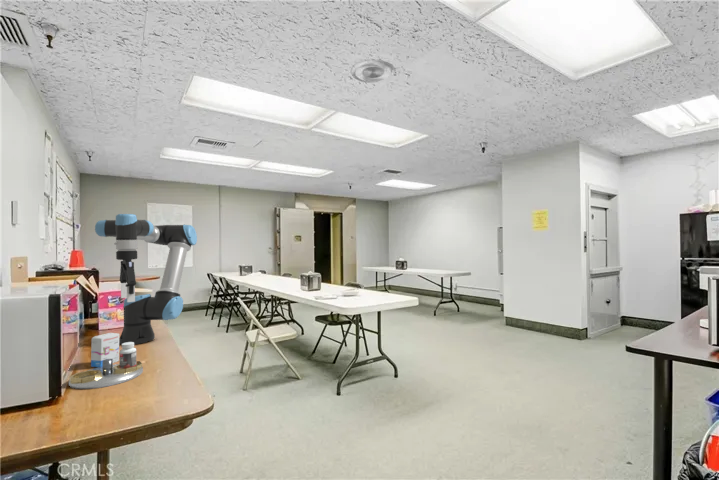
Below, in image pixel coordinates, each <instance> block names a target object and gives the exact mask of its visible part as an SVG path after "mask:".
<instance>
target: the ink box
mask: <svg viewBox="0 0 719 480" xmlns="http://www.w3.org/2000/svg"><path fill="white" fill-rule="evenodd" d="M90 343H91V346H90V347H91V350H90V354H91V355H90V367H92V368H98V367H103V360H105V359H113V364H115V363H117V362H120V355H119V354H120V333H116V332H107V333H104V334H98V335H95V336H93V337H91V342H90Z"/></svg>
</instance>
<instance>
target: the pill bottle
mask: <svg viewBox="0 0 719 480" xmlns="http://www.w3.org/2000/svg"><path fill="white" fill-rule="evenodd" d="M136 361H137V348H136V347H135V344H134V342H126V343H123V344H121V349H119V364H120V365H119V368H129V367H134V366H136Z"/></svg>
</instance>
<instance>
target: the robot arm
mask: <svg viewBox="0 0 719 480" xmlns="http://www.w3.org/2000/svg"><path fill="white" fill-rule="evenodd" d="M94 231H95V234H96V235H97V236H99V237H101V238H102V237H105V238H107V237H108V238H109V237H111V238H115V242H114V245H115V249H116V250H117V251H115V257H116V258H115V259H116V261H117V260H118V261H120V272H119V281H120V299H124V300H123V305H122V306H123V307H122V309H123V328H122V330H121V331H122V332H121V334H120V335H119V345H122V344H123V343H126V342H134V345H139V344H140V345H141V344H145V342H146V343H148V342H147V341H149V342H151V341H150V340H152V341H154V340H155V339H156V337H155V335H156V334H155V332H154V328H153V326H152V323H151V321H168V320H169V321H170V320H175V319H177V318H178V317H179V316H180V315H181V313H182V311H183V309H184V299H183V298H182V297H181V293H180V292H179V290H180V289H179V288H180V285H181V280H182V276H183V271H184V267H185V262H186V259H187V258H186V257H187V253H188V252H189V251H191V248H192V246H195V245H196V244H197V242H198V234H197V232H196V229H195V227H194V226H193V225H192V224H191V225H190V224H163V225H162V224H160V225H154V224H153V223H152V222H151V221H150V220H146V219H137V215H136V214H134V213H118V214H116V215H115V219H104V220H103V219H102V220H100V219H99V220H97V221H96V223H95V226H94ZM138 241H144V242H146V243H150V244H155V245H159V246H167V247H168V249H169V251H168V254H167V259H166V263H165V268H164V271H163V276H162V278H161V282H160V288H159V289H158V290H156V291H155V293H154V296H152V295H151V293H146V294H140V295H139V294H138V295H136V285H137V281H136V272H135V261H132V260H137V259H138V251H137V249H138ZM154 338H155V339H154ZM153 339H154V340H153Z"/></svg>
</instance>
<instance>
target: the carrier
mask: <svg viewBox="0 0 719 480" xmlns="http://www.w3.org/2000/svg"><path fill="white" fill-rule="evenodd" d="M119 365H120V363H118V364H117V363H113V359H105V360H103V367H93V368H91V369H88V370H85V371H81V372H76V373H74V374H72V375H70V376H69V379H68V387H69V386H70V387H69V388H71V389H74V388H75V389H74V390H93V389H94V390H95V389H102V388H107V387H112V386H116V385H120V384H123V383H126V382H129V381H132V380H134V379H136V378H138V377H139V376H140V375H142V374H143V372H144V368H143V363H142V361H140V360H139V361H137V360H136V366H134V367H129V368H119Z"/></svg>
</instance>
